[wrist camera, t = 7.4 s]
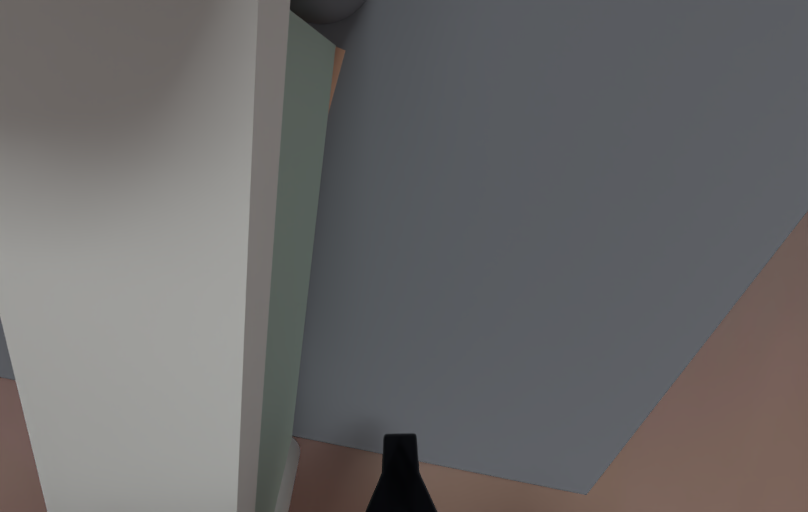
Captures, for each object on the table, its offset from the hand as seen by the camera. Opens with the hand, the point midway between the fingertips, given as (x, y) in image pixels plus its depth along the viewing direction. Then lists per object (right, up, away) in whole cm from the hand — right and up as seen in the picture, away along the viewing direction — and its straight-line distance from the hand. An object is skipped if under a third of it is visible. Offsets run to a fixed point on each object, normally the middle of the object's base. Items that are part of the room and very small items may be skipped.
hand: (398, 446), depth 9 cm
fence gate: (-3, +3, +1) cm, 4 cm away
